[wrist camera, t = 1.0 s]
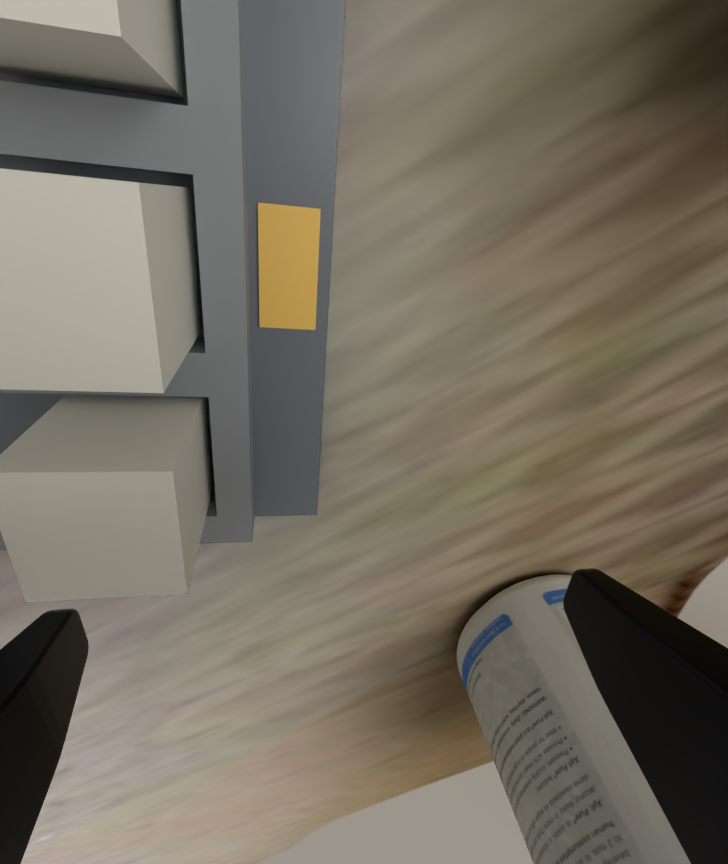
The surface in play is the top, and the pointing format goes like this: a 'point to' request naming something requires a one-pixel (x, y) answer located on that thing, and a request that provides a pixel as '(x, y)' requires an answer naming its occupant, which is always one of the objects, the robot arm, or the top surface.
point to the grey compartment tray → (223, 229)
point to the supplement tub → (557, 735)
